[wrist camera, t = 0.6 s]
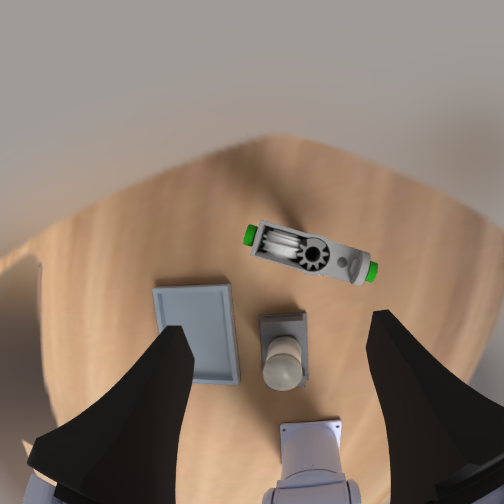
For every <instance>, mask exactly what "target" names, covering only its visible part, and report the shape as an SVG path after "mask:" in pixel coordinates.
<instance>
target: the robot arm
mask: <svg viewBox="0 0 504 504" xmlns="http://www.w3.org/2000/svg"><path fill="white" fill-rule="evenodd" d="M366 352H367V358H368V363H369V368H370V372H371V376H372V379H373V382H374V385H375V389H376V392H377V395H378V399H379V402H380V405H381V409H382V412H383V416H384V420H385V424H386V430H387V438H388V445H389V456H390V471H391V501H390V504H504V407H503V406H501V405H499V404H497V403H495V402H493V401H491V400H490V399H488V398H486V397H484V396H483V395H481V394H480V393H478V392H477V391H475V390H474V389H473V388H471V387H470V386H468V385H467V384H465V383H464V382H463V381H461V380H460V379H459V378H458V377H456V376H455V375H454V374H453V373H451V372H450V371H449V370H448V369H447V368H445V367H444V366H443V365H442V364H441V363H440V362H439V361H438V360H437V359H436V358H434V357H433V356H432V355H431V354H430V353H429V352H428V351H427V350H426V349H425V348H424V347H423V346H422V345H421V344H420V343H419V342H418V341H417V340H416V339H415V337H414V336H413V335H412V334H411V333H410V332H409V331H408V330H407V329H406V328H405V327H404V326H403V325H402V324H401V322H400V321H399V320H398V319H397V318H396V317H395V316H394V315H393V314H392V313H391V312H390V311H389V310H388V309H387V310H381V311H373V316H372V321H371V326H370V330H369V335H368V340H367V344H366ZM194 364H195V358H194V355H193V353H192V350H191V348H190V346H189V343H188V341H187V338H186V336H185V333H184V331H183V328H182V326H181V325H167V326H166V327H165V328H164V330H163V331H162V332H161V333H160V334H159V335H158V337H157V338H156V339H155V340H154V342H153V343H152V344H151V345H150V346H149V348H148V349H147V350H146V351H145V352H144V354H143V355H142V356H141V357H140V358H139V359H138V361H137V362H136V363H135V364H134V365H133V366H132V368H131V369H130V370H129V371H128V372H127V373H126V374H125V375H124V376H123V377H122V378H121V379H120V380H119V381H118V382H117V383H116V384H115V385H114V386H113V387H112V388H111V389H110V390H109V391H108V392H107V393H106V394H105V395H104V396H102V397H101V398H100V399H99V400H98V401H97V402H95V403H94V404H93V405H91V406H90V407H89V408H87V409H86V410H85V411H84V412H82V413H81V414H79V415H78V416H77V417H75V418H73V419H72V420H70V421H69V422H67V423H66V424H64V425H62V426H60V427H59V428H57V429H55V430H53V431H51V432H49V433H47V434H45V435H43V436H41V437H38V438H36V441H35V443H34V445H33V448H32V450H31V453H30V455H29V458H28V461H27V464H28V465H29V466H30V467H32V468H34V469H35V470H37V471H38V472H40V473H42V474H43V475H45V476H47V477H48V478H50V479H52V480H54V481H55V482H57V486H56V487H55V486H53V485H52V484H50V483H48V482H46V481H45V480H43V479H41V478H39V477H38V476H36V475H34V474H32V475H31V477H30V480H29V483H28V486H27V489H26V492H25V495H24V498H23V502H22V504H176V500H175V483H176V463H177V452H178V443H179V435H180V430H181V425H182V421H183V417H184V413H185V409H186V406H187V402H188V398H189V394H190V390H191V385H192V381H193V373H194ZM337 425H339V426H337ZM341 427H342V422H341V420H330V421H319V422H304V423H283V424H281V425H280V434H281V455H282V473H281V480H278V481H277V487H276V488H270V489H269V490H268V491H267V492H266V493H265V494H264V496H263V500H262V504H361V495H360V489H359V486H358V483H357V482H355V481H354V480H353V479H350V480H347V482H346V478H345V473H342V467H341V461H340V454H339V445H340V436H341ZM283 429H286V430H283Z"/></svg>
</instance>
